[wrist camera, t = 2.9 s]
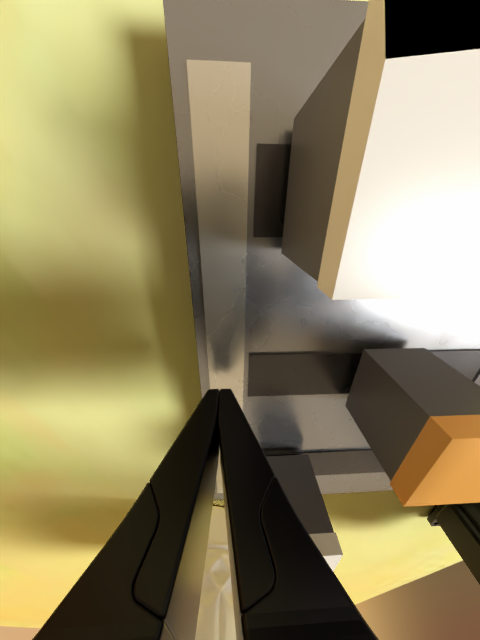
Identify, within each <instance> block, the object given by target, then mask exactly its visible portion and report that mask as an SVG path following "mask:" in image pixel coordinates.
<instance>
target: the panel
mask: <svg viewBox="0 0 480 640" xmlns="http://www.w3.org/2000/svg"><path fill="white" fill-rule="evenodd" d="M163 5H164V16H165V26H166V36H167V46H168V57H169V67H170V77H171V87H172V98H173V108H174V118H175V129H176V139H177V149H178V159H179V170H180V180H181V190H182V200H183V211H184V221H185V231H186V241H187V252H188V262H189V272H190V282H191V293H192V303H193V313H194V323H195V334H196V344H197V354H198V364H199V375H200V385H201V395H202V398H203V397H204V395H205V393H206V392H207V390H209V389H219V390H220V389H231V390H232V391H233V393H234V395H235V397H236V399H237V401H238V403H239V405H240V407H241V409H242V411H243V413H244V415H245V417H246V419H247V421H248V423H249V425H250V426H251V428H252V430H253V432H254V434H255V436H256V438H257V440H258V442H259V444H260V446H261V448H262V450H263V452H264V454H265V456H288V455H309V458H310V461H311V464H312V468H313V471H314V474H315V477H316V480H317V483H318V486H319V489H320V492H321V494H335V493H353V492H372V491H390V490H393V489H392V487H391V485H390V484H389V483H390V482H391V481H390V479H389V478H388V476H387V474H386V473H385V471H384V469H383V468H382V466H381V464H380V463H379V461H378V459H377V458H376V456H375V454H374V453H373V451H372V449H371V448H370V446H369V444H368V443H367V441H366V439H365V438H364V436H363V434H362V433H361V431H360V429H359V428H358V426H357V424H356V423H355V421H354V419H353V418H352V416H351V414H350V413H349V411H348V409H347V408H346V406H345V404H346V401H347V398H348V395H349V392H350V389H351V386H352V383H353V380H354V377H355V374H356V371H357V368H358V365H359V362H360V359H361V356H362V353H363V350H364V349H397V348H425V349H427V350H428V351H430V352H431V353H433V354H434V355H435V356H437V357H438V358H440V359H441V360H443V361H444V362H446V363H447V364H448V365H450V366H451V367H453V368H454V369H456V370H457V371H458V372H460V373H461V374H463V375H464V376H466V377H467V378H469V379H470V380H471V381H473V382H474V383H476V384H477V385H479V386H480V299H363V300H332V299H331V298H329V297H328V296H327V295H326V294H325V293H324V292H322V291H321V290H320V289H319V288H318V287H317V283H318V282H317V281H316V280H315V279H313V278H312V277H311V276H310V275H308V274H307V273H306V272H305V271H303V270H302V269H301V268H299V267H298V266H297V265H296V264H294V263H293V262H292V261H291V260H289V259H288V258H287V257H285V256H284V255H283V254H282V253H281V249H282V239H283V228H284V217H285V207H286V196H287V186H288V175H289V165H290V154H291V144H292V133H293V123H294V118H295V116H296V115H297V114H298V112H299V111H300V109H301V108H302V107H303V105H304V104H305V102H306V101H307V100H308V98H309V97H310V95H311V94H312V93H313V91H314V90H315V88H316V87H317V85H318V84H319V83H320V81H321V80H322V78H323V77H324V76H325V74H326V73H327V71H328V70H329V69H330V67H331V66H332V64H333V63H334V62H335V60H336V59H337V57H338V56H339V54H340V53H341V52H342V50H343V49H344V47H345V46H346V45H347V43H348V42H349V40H350V39H351V38H352V36H353V35H354V33H355V32H356V31H357V29H358V28H359V26H360V25H361V23H362V22H363V21H364V19H365V18H366V13H367V7H368V2H365V1H349V0H163ZM223 499H224V496H223V485H222V474H221V463H220V449H219V461H218V469H217V476H216V484H215V492H214V499H213V500H223Z"/></svg>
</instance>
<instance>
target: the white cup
mask: <svg viewBox="0 0 480 640" xmlns="http://www.w3.org/2000/svg"><path fill="white" fill-rule="evenodd" d="M195 640H237V639H236V628H235V617H234V606H233V595H232V584H231V573H230V562H229V551H228V540H227V529H226V518H225V508H224V507H220V506H213V507H212V514H211V522H210V529H209V537H208V544H207V552H206V560H205V567H204V575H203V582H202V590H201V597H200V605H199V612H198V620H197V628H196V635H195Z"/></svg>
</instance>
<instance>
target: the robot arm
mask: <svg viewBox="0 0 480 640" xmlns="http://www.w3.org/2000/svg"><path fill="white" fill-rule="evenodd" d="M219 449H220V463H221V474H222V485H223V496H224V507H225V518H226V529H227V540H228V551H229V562H230V573H231V584H232V595H233V606H234V617H235V628H236V639H237V640H379V639H378V638H377V637H376V635H375V634H374V633H373V631H372V630H371V628H370V627H369V625H368V624H367V623H366V621H365V620H364V618H363V617H362V615H361V614H360V612H359V611H358V609H357V608H356V606H355V605H354V603H353V602H352V600H351V599H350V597H349V596H348V594H347V592H346V591H345V589H344V588H343V586H342V585H341V583H340V582H339V580H338V578H337V577H336V575H335V574H334V572H333V571H332V569H331V568H330V566H329V565H328V563H327V561H326V560H325V558H324V557H323V555H322V554H321V552H320V551H319V549H318V548H317V546H316V544H315V543H314V541H313V540H312V538H311V537H310V535H309V533H308V532H307V530H306V529H305V527H304V525H303V524H302V522H301V520H300V519H299V517H298V516H297V514H296V512H295V510H294V509H293V507H292V505H291V503H290V501H289V500H288V498H287V496H286V494H285V492H284V490H283V488H282V487H281V485H280V483H279V481H278V479H277V477H275V473H274V471H273V469H272V467H271V465H270V463H269V462H268V460H267V458H266V456H265V454H264V452H263V450H262V448H261V446H260V444H259V442H258V440H257V438H256V436H255V434H254V432H253V430H252V428H251V426H250V425H249V423H248V421H247V419H246V417H245V415H244V413H243V411H242V409H241V407H240V405H239V403H238V401H237V399H236V397H235V395H234V393H233V391H232V390H231V389H220V390H219V389H209V390H207V392H206V393H205V395H204V397H203V398H202V400H201V401H200V403H199V404H198V406H197V407H196V409H195V410H194V412H193V414H192V415H191V417H190V418H189V420H188V421H187V423H186V424H185V426H184V428H183V429H182V431H181V432H180V434H179V435H178V437H177V438H176V440H175V442H174V443H173V445H172V446H171V448H170V449H169V451H168V452H167V454H166V455H165V457H164V459H163V460H162V462H161V463H160V465H159V466H158V468H157V469H156V471H155V473H154V474H153V476H152V477H151V479H150V483H147V485H146V486H145V488H144V489H143V491H142V493H141V494H140V496H139V497H138V499H137V500H136V502H135V503H134V505H133V506H132V508H131V509H130V511H129V512H128V513H127V515H126V516H125V518H124V519H123V521H122V522H121V524H120V525H119V526H118V528H117V529H116V530H115V532H114V533H113V534H112V536H111V537H110V539H109V540H108V541H107V543H106V544H105V545H104V547H103V548H102V549H101V551H100V552H99V553H98V555H97V556H96V557H95V559H94V560H93V561H92V562H91V564H90V565H89V566H88V568H87V569H86V570H85V572H84V573H83V574H82V576H81V577H80V578H79V579H78V581H77V582H76V583H75V585H74V586H73V587H72V589H71V590H70V591H69V593H68V594H67V595H66V596H65V598H64V599H63V600H62V602H61V603H60V604H59V606H58V607H57V608H56V610H55V611H54V612H53V613H52V615H51V616H50V617H49V619H48V620H47V621H46V623H45V624H44V625H43V627H42V628H41V629H40V630H39V632H38V633H37V634H36V636H35V637H34V638H33V639H32V640H195V635H196V628H197V620H198V612H199V605H200V597H201V590H202V582H203V575H204V567H205V560H206V552H207V544H208V537H209V529H210V522H211V514H212V507H213V499H214V492H215V484H216V476H217V469H218V461H219ZM427 520H428V522H429V523H430V525H431V526H441V528H442V529H443V531H444V532H445V534H446V535H447V537H448V538H449V540H450V541H451V543H452V544H453V546H454V547H455V549H456V550H457V551H458V553H459V554H460V556H461V557H462V559H463V560H464V562H465V563H466V565H467V566H468V568H469V569H470V571H471V572H472V574H473V575H474V577H475V578H476V580H477V581H478V582H479V584H480V502H478V503H461V504H444V505H438V506H437V507H436V509H435V510H434V511H433V512H432V513H431V514H430V515H429V517H428V518H427Z"/></svg>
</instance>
